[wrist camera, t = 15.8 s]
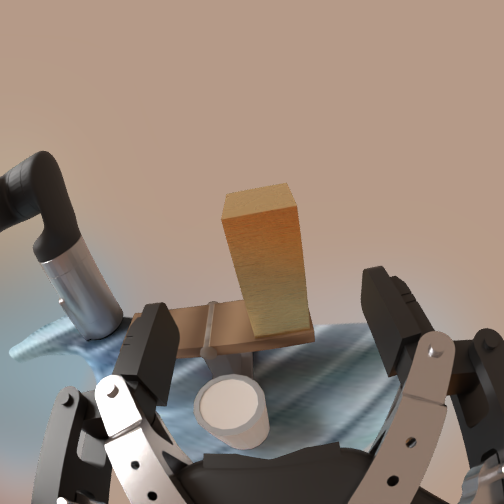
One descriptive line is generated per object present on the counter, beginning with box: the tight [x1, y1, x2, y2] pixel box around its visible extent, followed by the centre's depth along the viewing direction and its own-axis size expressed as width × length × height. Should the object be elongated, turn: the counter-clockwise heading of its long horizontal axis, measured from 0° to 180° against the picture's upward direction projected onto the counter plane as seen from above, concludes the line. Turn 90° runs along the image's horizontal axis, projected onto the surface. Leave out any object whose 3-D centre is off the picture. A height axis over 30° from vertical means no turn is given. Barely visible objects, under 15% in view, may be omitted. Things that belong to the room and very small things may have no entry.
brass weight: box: [221, 183, 310, 339], centre depth 23 cm, size 5×5×12 cm
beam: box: [120, 300, 315, 360], centre depth 27 cm, size 20×7×2 cm, turn 91°
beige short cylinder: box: [193, 374, 270, 450], centre depth 24 cm, size 7×7×7 cm
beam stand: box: [204, 352, 253, 380], centre depth 30 cm, size 5×8×8 cm, turn 1°
